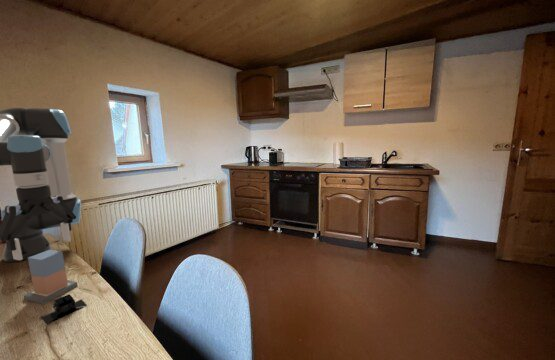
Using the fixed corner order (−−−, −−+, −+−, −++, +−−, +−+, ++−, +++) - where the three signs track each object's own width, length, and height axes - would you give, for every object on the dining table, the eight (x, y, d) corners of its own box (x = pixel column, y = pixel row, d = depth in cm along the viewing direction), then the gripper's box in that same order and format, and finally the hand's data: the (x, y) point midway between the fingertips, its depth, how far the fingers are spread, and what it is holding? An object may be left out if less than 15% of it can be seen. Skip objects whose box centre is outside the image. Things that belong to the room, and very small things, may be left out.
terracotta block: (55, 281, 85) (52, 265, 85) (67, 284, 84) (65, 268, 83) (34, 292, 80) (31, 275, 79) (47, 294, 78) (44, 277, 77)
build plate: (40, 331, 66) (37, 316, 65) (33, 320, 70) (30, 305, 69) (94, 305, 76) (92, 292, 75) (85, 297, 80) (84, 284, 79)
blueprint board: (58, 282, 88) (58, 278, 88) (77, 285, 86) (76, 281, 85) (24, 299, 78) (23, 295, 78) (43, 303, 76) (43, 299, 76)
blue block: (52, 266, 84) (49, 249, 83) (65, 268, 83) (62, 251, 82) (31, 275, 79) (27, 257, 78) (44, 277, 77) (40, 259, 76)
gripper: (-16, 195, 63) (1, 270, 67) (82, 179, 87) (91, 235, 91) (-34, 194, 65) (-17, 267, 69) (67, 178, 89) (76, 233, 93)
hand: (44, 249), depth 80 cm, fingers open, 13 cm apart
